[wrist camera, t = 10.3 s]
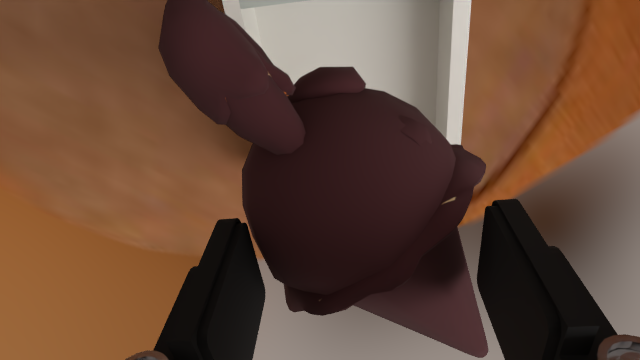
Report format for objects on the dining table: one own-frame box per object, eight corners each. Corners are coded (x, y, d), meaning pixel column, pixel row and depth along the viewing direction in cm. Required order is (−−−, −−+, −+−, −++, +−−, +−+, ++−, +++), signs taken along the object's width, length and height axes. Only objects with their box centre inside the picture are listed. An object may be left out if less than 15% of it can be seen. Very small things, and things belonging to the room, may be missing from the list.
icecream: (656, 373, 11) (311, -170, 6) (434, 506, 12) (0, 126, 7) (516, 248, 17) (298, -61, 13) (381, 342, 18) (135, 86, 14)
